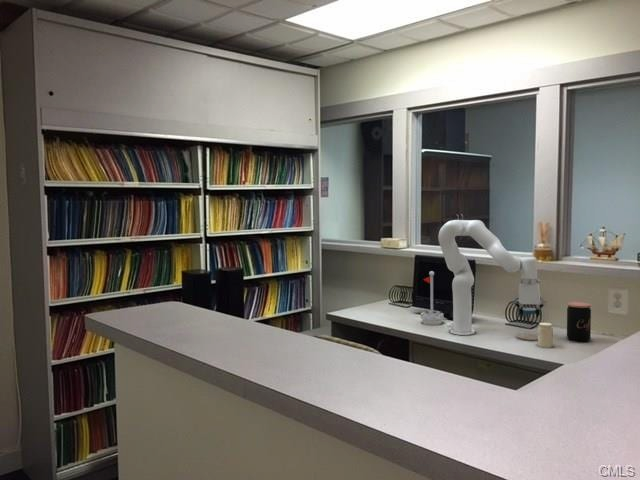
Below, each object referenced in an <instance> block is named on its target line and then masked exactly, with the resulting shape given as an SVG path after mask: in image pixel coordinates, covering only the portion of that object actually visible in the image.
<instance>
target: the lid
mask: <svg viewBox="0 0 640 480" xmlns="http://www.w3.org/2000/svg"><path fill="white" fill-rule="evenodd" d="M536 313H537V308H534V307H524V308H523V307H522V315H536Z"/></svg>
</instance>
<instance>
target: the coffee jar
mask: <svg viewBox="0 0 640 480" xmlns="http://www.w3.org/2000/svg"><path fill="white" fill-rule="evenodd" d="M566 305H567V308H566V338H567V339H568V340H569V341H571V342H576V343H587V342H588V343H589V341H590V340H591V333H592V332H591V330H592V329H591V328H592V323H591V322H592V309H591V307H592V304H591V303H588V302H582V301H569V302H567V303H566Z"/></svg>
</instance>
